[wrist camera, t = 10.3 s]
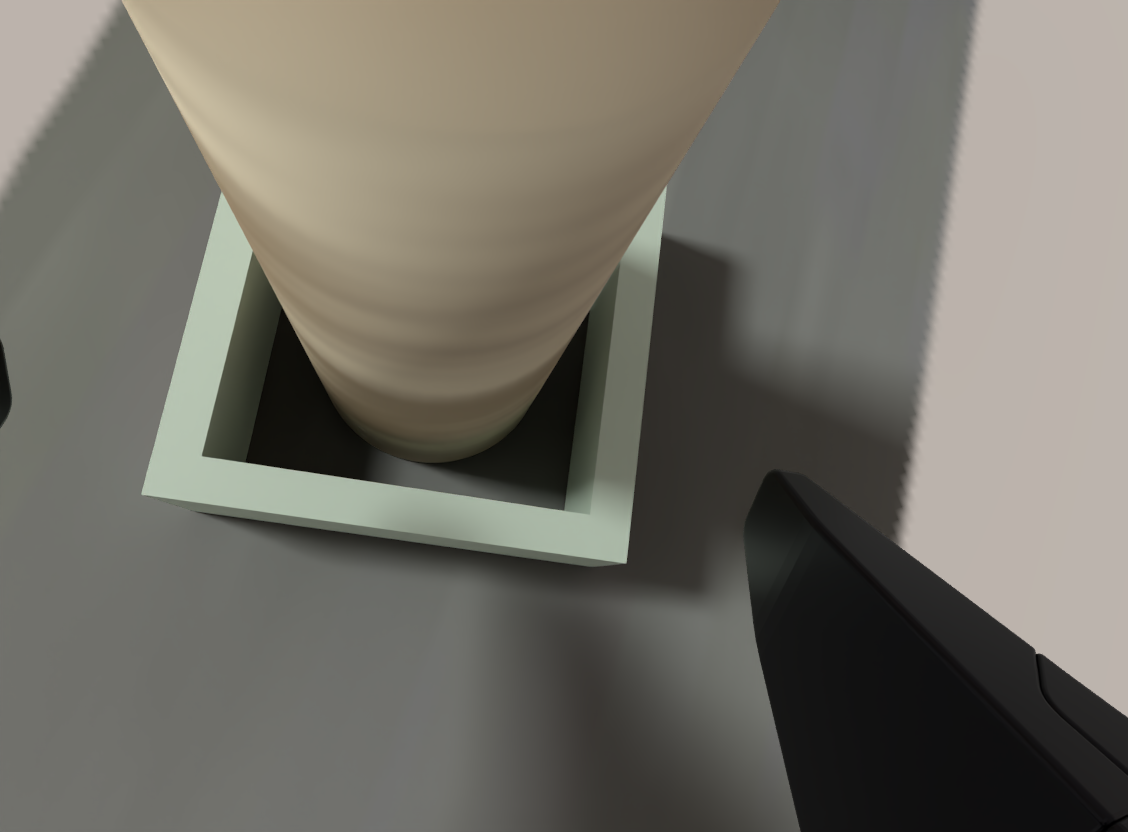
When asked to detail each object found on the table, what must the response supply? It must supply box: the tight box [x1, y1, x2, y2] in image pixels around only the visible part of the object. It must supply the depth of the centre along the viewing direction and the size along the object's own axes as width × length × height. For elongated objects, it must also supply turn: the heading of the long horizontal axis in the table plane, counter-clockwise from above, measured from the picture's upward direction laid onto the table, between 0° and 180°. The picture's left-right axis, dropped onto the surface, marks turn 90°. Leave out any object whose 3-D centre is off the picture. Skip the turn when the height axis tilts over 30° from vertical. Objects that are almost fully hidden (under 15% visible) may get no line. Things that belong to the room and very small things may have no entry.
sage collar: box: [141, 185, 667, 567], centre depth 16 cm, size 9×9×3 cm
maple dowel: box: [122, 0, 780, 463], centre depth 11 cm, size 5×5×13 cm
